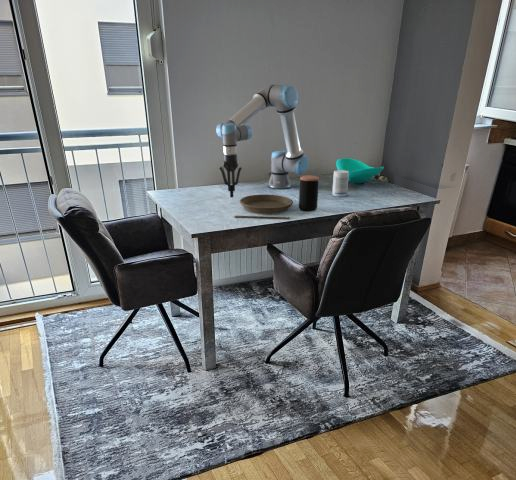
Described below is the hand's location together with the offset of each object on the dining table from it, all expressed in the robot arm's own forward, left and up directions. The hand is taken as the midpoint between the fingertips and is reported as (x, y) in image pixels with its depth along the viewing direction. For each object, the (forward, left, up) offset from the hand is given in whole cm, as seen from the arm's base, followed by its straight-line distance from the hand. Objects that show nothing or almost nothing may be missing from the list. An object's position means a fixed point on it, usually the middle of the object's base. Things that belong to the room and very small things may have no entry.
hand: (231, 196), depth 274 cm
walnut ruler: (+20, +20, -6) cm, 29 cm away
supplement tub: (-36, +65, -6) cm, 74 cm away
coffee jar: (0, +45, -6) cm, 45 cm away
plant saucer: (0, +20, -6) cm, 21 cm away
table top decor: (-75, +79, -6) cm, 109 cm away
